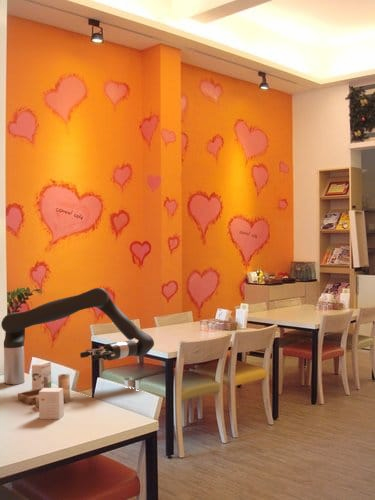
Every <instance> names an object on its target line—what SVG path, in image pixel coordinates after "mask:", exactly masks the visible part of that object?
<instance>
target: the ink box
mask: <svg viewBox="0 0 375 500" xmlns="http://www.w3.org/2000/svg"><path fill="white" fill-rule="evenodd" d="M51 363H52V362H51V361H40V362H37V363H34V364H32V365H31V381H32V382H31V391H33V390H37V389H43V388H44V377H45V376H48V388H52V364H51Z"/></svg>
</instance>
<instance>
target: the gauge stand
mask: <svg viewBox="0 0 375 500" xmlns="http://www.w3.org/2000/svg"><path fill="white" fill-rule="evenodd" d="M44 388H48V376H45V377H44ZM35 406H36V407H37V408H39V396H36V404H35Z"/></svg>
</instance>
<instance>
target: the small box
mask: <svg viewBox="0 0 375 500" xmlns="http://www.w3.org/2000/svg"><path fill="white" fill-rule="evenodd" d="M64 404H65V403H64V400H63V388H58V387H49V388H43V389H42V390H40V391H39V407H38V416H39V420H60V419H61V418H62V417H63V416H64V415H65V407H64Z"/></svg>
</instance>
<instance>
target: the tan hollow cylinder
mask: <svg viewBox="0 0 375 500" xmlns="http://www.w3.org/2000/svg"><path fill="white" fill-rule="evenodd" d="M57 378H58V379H57V382H58V384H57V385H58V386H57V388H63V400H64V404H65V403H69V402H70V401H71V392H70V391H71V390H70V388H71V387H70V374H69V373H61V374H58V375H57Z"/></svg>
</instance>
